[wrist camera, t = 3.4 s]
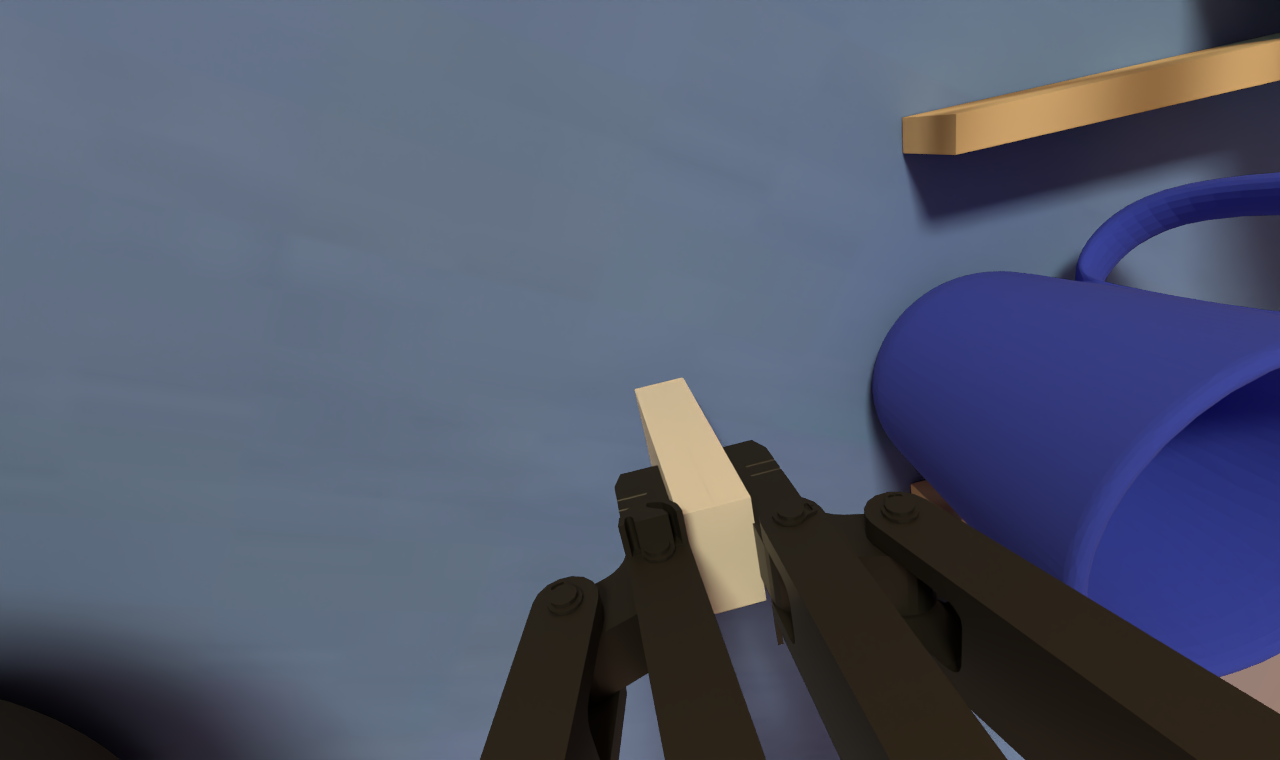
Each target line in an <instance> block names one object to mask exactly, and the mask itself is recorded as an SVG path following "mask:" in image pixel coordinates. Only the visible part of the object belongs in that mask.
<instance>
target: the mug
mask: <svg viewBox="0 0 1280 760" xmlns="http://www.w3.org/2000/svg"><path fill="white" fill-rule="evenodd" d="M1265 215H1280V172H1277V173H1265V174H1253V175H1243V176H1235V177H1227V178H1219V179H1213V180H1207V181H1201V182H1196V183H1190V184H1186V185H1182V186H1178V187H1174V188H1170V189H1166V190H1163V191H1160V192H1158V193H1155V194H1152V195H1150V196H1147V197H1144V198H1142V199H1140V200H1138V201H1136V202H1134V203H1132V204H1130V205H1128V206H1126V207H1125V208H1123V209H1122V210H1120V211H1119V212H1117V213H1116V214H1114V215H1113V216H1112V217H1111V218H1109V219H1108V220H1107V221H1106V222H1104V223H1103V224H1102V225H1101V226H1100V227H1099V228H1098V229H1097V230H1096V231H1095V232H1094V234H1093V235H1092V236H1091V238H1090V239H1089V240H1088V241H1087V243H1086V245H1085V246H1084V248H1083V250H1082V252H1081V254H1080V256H1079V259H1078V262H1077V266H1076V276H1075V281H1074V280H1067V279H1061V278H1054V277H1047V276H1041V275H1034V274H1026V273H1018V272H1005V271H998V272H983V273H976V274H971V275H966V276H962V277H959V278H956V279H953V280H951V281H948V282H946V283H943V284H941V285H939V286H937V287H936V288H934V289H932V290H930V291H929V292H927V293H926V294H925V295H923V296H922V297H920V298H919V299H918V300H916V301H915V302H914V303H913V304H912V305H911V306H910V307H908V308H907V309H906V310H905V311H904V313H903V314H902V315H901V316H900V317H899V318H898V319H897V321H896V322H895V324H894V325H893V326H892V328H891V329H890V331H889V332H888V334H887V336H886V338H885V339H884V341H883V343H882V346H881V348H880V350H879V353H878V356H877V360H876V363H875V367H874V373H873V385H872V387H873V399H874V404H875V408H876V412H877V415H878V418H879V420H880V422H881V425H882V427H883V429H884V430H885V432H886V434H887V435H888V437H889V438H890V440H891V441H892V443H893V444H894V445H895V446H896V447H897V449H898V450H899V451H900V452H901V453H902V454H903V456H904V457H905V458H906V459H907V460H908V461H909V462H910V463H911V464H912V465H913V466H914V467H915V468H916V470H917V471H918V472H919V473H920V474H921V475H922V476H923V477H924V478H925V479H926V480H927V481H928V482H929V484H930V485H931V486H932V487H933V488H934V489H935V490H936V491H937V492H938V493H939V494H940V495H941V496H942V498H943V499H944V500H945V501H946V502H947V503H948V504H949V505H950V506H951V507H952V508H953V509H954V511H955V512H956V513H957V514H958V515H959V516H960V517H961V518H962V519H963V520H964V521H965V522H966V523H967V524H968V525H969V526H971V527H973V528H974V529H976V530H978V531H979V532H981V533H982V534H984V535H986V536H987V537H989V538H991V539H992V540H994V541H996V542H997V543H999V544H1001V545H1002V546H1004V547H1006V548H1007V549H1009V550H1010V551H1012V552H1014V553H1015V554H1017V555H1019V556H1020V557H1022V558H1024V559H1025V560H1027V561H1029V562H1030V563H1032V564H1034V565H1035V566H1037V567H1038V568H1040V569H1042V570H1043V571H1045V572H1047V573H1048V574H1050V575H1052V576H1053V577H1055V578H1057V579H1058V580H1060V581H1062V582H1063V583H1065V584H1066V585H1068V586H1070V587H1071V588H1073V589H1075V590H1076V591H1078V592H1080V593H1081V594H1083V595H1085V596H1086V597H1088V598H1090V599H1091V600H1093V601H1094V602H1096V603H1098V604H1099V605H1101V606H1103V607H1104V608H1106V609H1108V610H1109V611H1111V612H1113V613H1114V614H1116V615H1117V616H1119V617H1121V618H1122V619H1124V620H1126V621H1127V622H1129V623H1131V624H1132V625H1134V626H1136V627H1137V628H1139V629H1141V630H1142V631H1144V632H1145V633H1147V634H1149V635H1150V636H1152V637H1154V638H1155V639H1157V640H1159V641H1160V642H1162V643H1164V644H1165V645H1167V646H1169V647H1170V648H1172V649H1173V650H1175V651H1177V652H1178V653H1180V654H1182V655H1183V656H1185V657H1187V658H1188V659H1190V660H1192V661H1193V662H1195V663H1197V664H1198V665H1200V666H1201V667H1203V668H1205V669H1206V670H1208V671H1210V672H1211V673H1213V674H1215V675H1216V676H1218V677H1221V676H1225V675H1228V674H1231V673H1234V672H1237V671H1240V670H1243V669H1246V668H1248V667H1251V666H1253V665H1256V664H1259V663H1261V662H1263V661H1265V660H1267V659H1269V658H1271V657H1273V656H1275V655H1277V654H1279V653H1280V311H1270V310H1262V309H1255V308H1248V307H1241V306H1234V305H1227V304H1220V303H1214V302H1208V301H1202V300H1196V299H1190V298H1184V297H1178V296H1173V295H1167V294H1162V293H1157V292H1151V291H1146V290H1141V289H1136V288H1131V287H1126V286H1121V285H1117V284H1113V283H1109V282H1104V281H1105V280H1106V278H1107V276H1108V275H1109V273H1110V272H1111V271H1112V269H1113V268H1114V267H1115V266H1116V264H1117V263H1118V262H1119V261H1120V260H1121V259H1122V258H1123V257H1124V256H1125V255H1126V254H1127V253H1128V252H1130V251H1131V250H1132V249H1134V248H1135V247H1136V246H1138V245H1139V244H1141V243H1142V242H1144V241H1146V240H1148V239H1150V238H1151V237H1153V236H1155V235H1158V234H1160V233H1162V232H1164V231H1166V230H1169V229H1172V228H1176V227H1179V226H1182V225H1185V224H1190V223H1195V222H1200V221H1205V220H1212V219H1222V218H1231V217H1240V216H1265Z"/></svg>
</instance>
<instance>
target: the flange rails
mask: <svg viewBox="0 0 1280 760" xmlns="http://www.w3.org/2000/svg"><path fill="white" fill-rule="evenodd" d="M1278 80H1280V39H1273V40H1266V41H1258V42H1251V43H1244V44H1237V45H1230V46H1223V47H1216V48H1209V49H1205V50H1201V51H1196V52H1192V53H1187V54H1183V55H1178V56H1174V57H1169V58H1165V59H1161V60H1156V61H1152V62H1147V63H1143V64H1138V65H1134V66H1130V67H1125V68H1121V69H1116V70H1112V71H1107V72H1103V73H1098V74H1094V75H1090V76H1085V77H1081V78H1076V79H1072V80H1067V81H1063V82H1059V83H1054V84H1050V85H1045V86H1041V87H1036V88H1032V89H1027V90H1023V91H1019V92H1014V93H1010V94H1005V95H1001V96H996V97H992V98H987V99H983V100H979V101H974V102H970V103H965V104H961V105H956V106H952V107H948V108H943V109H939V110H934V111H930V112H925V113H921V114H916V115H912V116H908V117H903V118H902V124H903V153H912V154H943V155H958V154H962V153H966V152H971V151H975V150H979V149H984V148H988V147H992V146H997V145H1001V144H1005V143H1010V142H1014V141H1018V140H1023V139H1027V138H1031V137H1036V136H1040V135H1044V134H1049V133H1053V132H1057V131H1062V130H1066V129H1070V128H1075V127H1079V126H1083V125H1088V124H1092V123H1096V122H1101V121H1105V120H1109V119H1114V118H1118V117H1122V116H1127V115H1131V114H1135V113H1140V112H1144V111H1148V110H1153V109H1157V108H1161V107H1166V106H1170V105H1174V104H1179V103H1183V102H1187V101H1192V100H1196V99H1200V98H1205V97H1209V96H1213V95H1218V94H1222V93H1226V92H1231V91H1235V90H1239V89H1244V88H1248V87H1252V86H1257V85H1261V84H1265V83H1270V82H1274V81H1278ZM911 494H915V495H918V496H920V497H922V498H925V499H927V500H928V501H930V502H931V503H933V504H935V505H936V506H938V507H940V508H941V509H943V510H945V511H946V512H948V513H950V514H951V515H953V516H954V517H956V518H958V519H959V520H961V521H963V522H964V523H966V522H965V521H964V520H963V519H962V518H961V517H960V516H959V515H958V514H957V513H956V512H955V511H954V509H953V508H952V507H951V506H950V505H949V504H948V503H947V502H946V501H945V500H944V499H943V498H942V496H941V495H940V494H939V493H938V492H937V491H936V490H935V489H934V488H933V487H932V486H931V485H930V484H929V482H928V481H927V480H924V481H920V482H916V483H913V484H911ZM966 524H967V523H966Z"/></svg>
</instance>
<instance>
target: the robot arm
mask: <svg viewBox="0 0 1280 760" xmlns="http://www.w3.org/2000/svg"><path fill="white" fill-rule="evenodd" d="M634 390H635V394H636V398H637V403H638V407H639V412H640V416H641V421H642V425H643V430H644V434H645V438H646V443H647V447H648V452H649V456H650V461H651V465H652V467H648V468H644V469H640V470H636V471H632V472H628V473H624V474H620V476H619V479H618V481H617V483H616V485H615V492H616V497H617V503H618V508H619V513H620V518H619V524H618V528H619V532H620V536H621V539H622V543H623V547H624V551H625V555H626V556H625V559H624V561H623V563H622V564H621V566H620V567H619V568H618V569H617V570H616V571H615V572H614V573H613V574H611V575H610V576H608V577H607V578H605V579H603V580H602V581H600V582H598V583H596V584H594V582H593V581H591V580H589V579H587V578H585V577H575V576H571V577H567V578H562V579H559V580H557V581H555V582H553V583H551V584H549V585H547V586H546V587H545V588H544V589H543V590H542V591H541V592H540V593H539V594H538V595H537V597H536V599H535V600H534V602H533V604H532V607H531V610H530V613H529V616H528V619H527V622H526V625H525V628H524V631H523V634H522V637H521V640H520V643H519V646H518V648H517V651H516V654H515V657H514V660H513V663H512V666H511V669H510V672H509V675H508V678H507V681H506V684H505V687H504V690H503V693H502V696H501V699H500V702H499V705H498V708H497V711H496V714H495V717H494V720H493V722H492V725H491V728H490V731H489V734H488V737H487V740H486V743H485V746H484V749H483V752H482V755H481V758H480V760H619V753H620V745H621V737H622V729H623V721H624V713H625V705H626V697H627V691H626V686H628V685H629V684H631V683H632V682H634V681H636V680H637V679H639V678H641V677H642V676H644V675H645V674H647V673H649V679H650V684H651V689H652V694H653V699H654V705H655V710H656V715H657V720H658V726H659V731H660V736H661V741H662V747H663V752H664V757H665V760H766V759H765V756H764V753H763V750H762V747H761V745H760V742H759V739H758V736H757V733H756V730H755V728H754V725H753V722H752V719H751V716H750V713H749V711H748V708H747V705H746V702H745V699H744V697H743V694H742V691H741V688H740V685H739V682H738V680H737V677H736V674H735V671H734V668H733V665H732V663H731V660H730V657H729V654H728V651H727V649H726V646H725V643H724V640H723V637H722V634H721V632H720V629H719V626H718V623H717V620H716V617H715V615H714V614H717V613H721V612H724V611H728V610H732V609H736V608H739V607H743V606H747V605H751V604H754V603H758V602H762V601H766V595H765V588H764V585H765V587H766V589H767V591H768V593H769V595H770V597H771V601H772V608H773V615H774V621H775V628H776V635H777V640H778V645H781V644H783V638H784V640H785V642H786V644H787V646H788V648H789V650H790V653H791V655H792V657H793V659H794V661H795V663H796V665H797V667H798V670H799V672H800V674H801V676H802V678H803V680H804V682H805V685H806V687H807V689H808V691H809V693H810V695H811V697H812V699H813V702H814V704H815V706H816V708H817V710H818V712H819V714H820V717H821V719H822V721H823V723H824V725H825V727H826V729H827V731H828V734H829V736H830V738H831V740H832V742H833V744H834V746H835V748H836V751H837V753H838V755H839V757H840V759H841V760H1007V759H1006V757H1005V756H1004V754H1003V753H1002V752H1001V750H1000V749H999V748H998V746H997V745H996V744H995V742H994V741H993V740H992V738H991V737H990V735H989V734H988V733H987V731H986V730H985V729H984V727H983V726H982V725H981V723H980V722H979V721H978V719H977V718H976V717H975V715H974V714H973V712H974V713H975V714H976V715H977V716H978V717H980V718H981V719H982V720H983V721H984V722H985V723H986V724H987V725H988V726H989V727H990V728H991V729H993V730H994V731H995V732H996V733H997V734H998V735H999V736H1000V737H1001V738H1002V739H1003V740H1004V741H1005V742H1007V743H1008V744H1009V745H1010V746H1011V747H1012V748H1013V749H1014V750H1015V751H1016V752H1017V753H1018V754H1020V755H1021V756H1022V757H1023V758H1024V759H1025V760H1280V714H1279V713H1277V712H1276V711H1274V710H1272V709H1271V708H1269V707H1267V706H1266V705H1264V704H1262V703H1261V702H1259V701H1257V700H1256V699H1254V698H1253V697H1251V696H1249V695H1248V694H1246V693H1244V692H1242V691H1241V690H1239V689H1238V688H1236V687H1234V686H1233V685H1231V684H1229V683H1228V682H1226V681H1225V680H1223V679H1221V678H1220V677H1218V676H1216V675H1215V674H1213V673H1211V672H1210V671H1208V670H1206V669H1205V668H1203V667H1201V666H1200V665H1198V664H1197V663H1195V662H1193V661H1192V660H1190V659H1188V658H1187V657H1185V656H1183V655H1182V654H1180V653H1178V652H1177V651H1175V650H1173V649H1172V648H1170V647H1169V646H1167V645H1165V644H1164V643H1162V642H1160V641H1159V640H1157V639H1155V638H1154V637H1152V636H1150V635H1149V634H1147V633H1145V632H1144V631H1142V630H1141V629H1139V628H1137V627H1136V626H1134V625H1132V624H1131V623H1129V622H1127V621H1126V620H1124V619H1122V618H1121V617H1119V616H1117V615H1116V614H1114V613H1113V612H1111V611H1109V610H1108V609H1106V608H1104V607H1103V606H1101V605H1099V604H1098V603H1096V602H1094V601H1093V600H1091V599H1090V598H1088V597H1086V596H1085V595H1083V594H1081V593H1080V592H1078V591H1076V590H1075V589H1073V588H1071V587H1070V586H1068V585H1066V584H1065V583H1063V582H1062V581H1060V580H1058V579H1057V578H1055V577H1053V576H1052V575H1050V574H1048V573H1047V572H1045V571H1043V570H1042V569H1040V568H1038V567H1037V566H1035V565H1034V564H1032V563H1030V562H1029V561H1027V560H1025V559H1024V558H1022V557H1020V556H1019V555H1017V554H1015V553H1014V552H1012V551H1010V550H1009V549H1007V548H1006V547H1004V546H1002V545H1001V544H999V543H997V542H996V541H994V540H992V539H991V538H989V537H987V536H986V535H984V534H982V533H981V532H979V531H978V530H976V529H974V528H973V527H971V526H969V525H968V524H966V523H964V522H963V521H961V520H959V519H958V518H956V517H954V516H953V515H951V514H950V513H948V512H946V511H945V510H943V509H941V508H940V507H938V506H936V505H935V504H933V503H931V502H930V501H928V500H927V499H925V498H922V497H920V496H918V495H915V494H911V493H906V492H886V493H883V494H879V495H876V496H874V497H873V498H872V499H870V500H869V501H868V502H867V504H866V506H865V508H864V514H852V515H836V514H829V513H825V512H824V511H823V509H822V508H821V507H820V506H819V505H817V504H816V503H815V502H814V501H811V500H808V499H806V498H801V496H800V495H799V493H798V492H797V491H796V489H795V488H794V486H793V485H792V483H791V482H790V481H789V479H788V478H787V476H786V475H785V474H784V472H783V471H782V469H780V467H779V465H778V464H777V462H776V461H775V460H774V458H773V457H772V455H771V454H770V452H769V451H768V450H767V448H766V447H764V446H762V445H760V444H758V443H756V442H754V441H753V440H750V441H746V442H742V443H738V444H734V445H730V446H726V447H722V446H721V444H720V442H719V440H718V439H717V437H716V435H715V433H714V432H713V430H712V428H711V426H710V425H709V423H708V421H707V419H706V418H705V416H704V414H703V412H702V410H701V409H700V407H699V405H698V403H697V402H696V400H695V398H694V396H693V395H692V393H691V391H690V389H689V388H688V386H687V384H686V382H685V381H684V379H683V378H678V379H674V380H670V381H666V382H662V383H658V384H654V385H650V386H646V387H642V388H637V389H634ZM782 635H783V637H782ZM970 709H971V710H972V711H973V712H972V711H971V710H970ZM0 760H120V759H118V758H117V757H116V756H115V755H113V754H112V753H111V752H110V751H108V750H107V749H105V748H104V747H103V746H101V745H100V744H98V743H97V742H95V741H94V740H92V739H90V738H89V737H87V736H85V735H84V734H82V733H80V732H78V731H77V730H75V729H73V728H71V727H69V726H67V725H65V724H63V723H61V722H59V721H57V720H55V719H53V718H50V717H48V716H46V715H43V714H41V713H38V712H36V711H33V710H31V709H28V708H25V707H22V706H20V705H17V704H14V703H11V702H8V701H4V700H1V699H0Z"/></svg>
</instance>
